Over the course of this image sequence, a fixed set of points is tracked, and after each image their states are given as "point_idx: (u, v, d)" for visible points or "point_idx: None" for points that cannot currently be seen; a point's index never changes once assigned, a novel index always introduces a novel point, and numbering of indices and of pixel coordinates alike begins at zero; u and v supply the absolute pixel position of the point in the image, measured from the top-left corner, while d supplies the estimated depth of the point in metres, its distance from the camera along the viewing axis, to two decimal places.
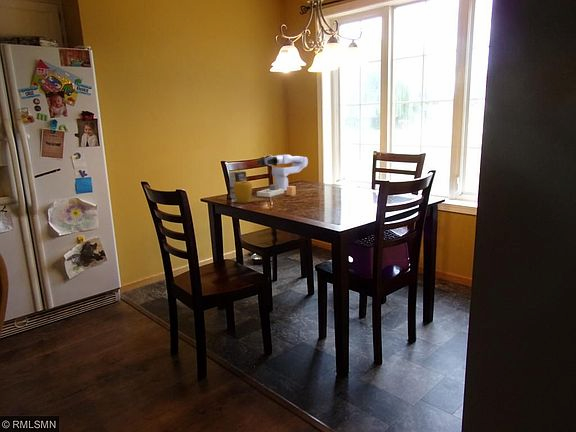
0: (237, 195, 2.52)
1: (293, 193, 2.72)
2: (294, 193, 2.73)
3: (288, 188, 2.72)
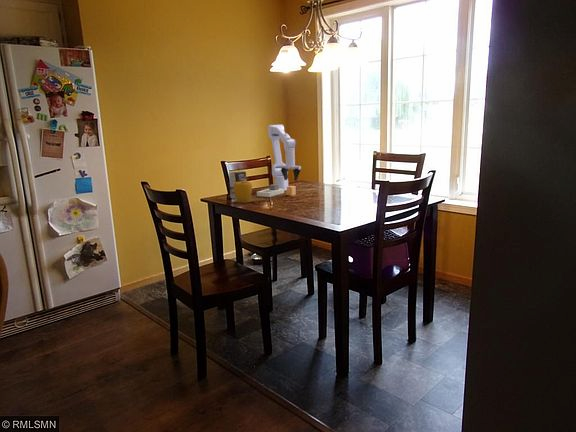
0: (237, 195, 2.52)
1: (293, 193, 2.72)
2: (294, 193, 2.73)
3: (288, 188, 2.72)
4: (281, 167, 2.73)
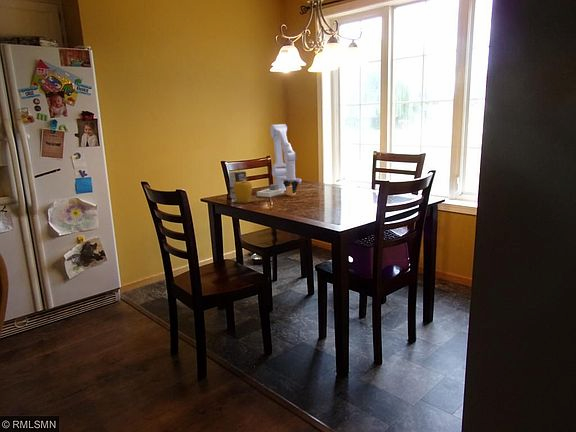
0: (237, 195, 2.52)
1: (293, 193, 2.72)
2: (294, 193, 2.73)
3: (288, 188, 2.72)
4: (281, 179, 2.75)
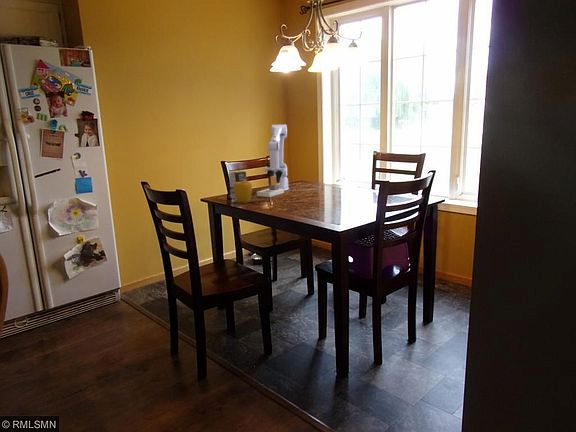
0: (237, 195, 2.52)
1: (277, 183, 2.70)
2: (278, 183, 2.71)
3: (272, 178, 2.69)
4: (265, 169, 2.72)
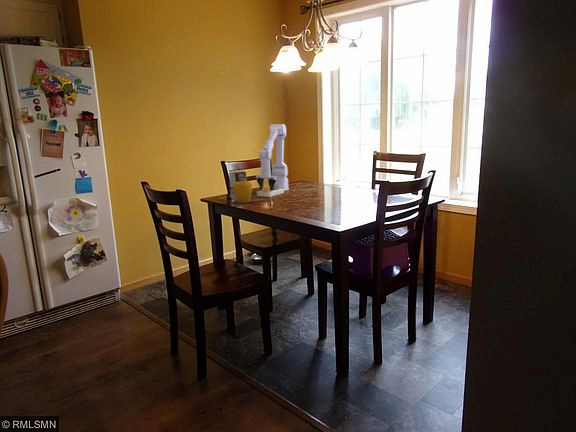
0: (237, 195, 2.52)
1: None
2: None
3: (263, 188, 2.70)
4: (257, 177, 2.72)
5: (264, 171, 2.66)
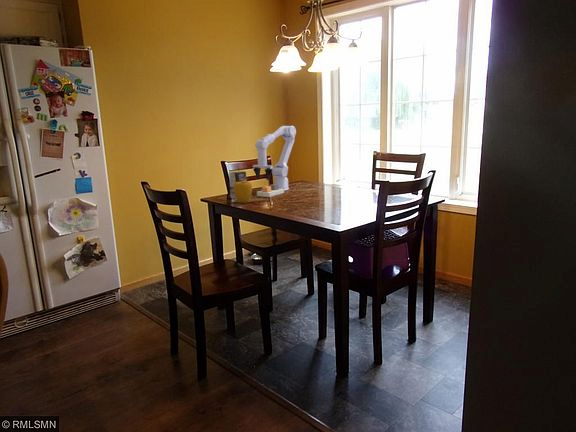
0: (237, 195, 2.52)
1: None
2: None
3: (263, 188, 2.70)
4: (254, 167, 2.80)
5: (260, 160, 2.73)
